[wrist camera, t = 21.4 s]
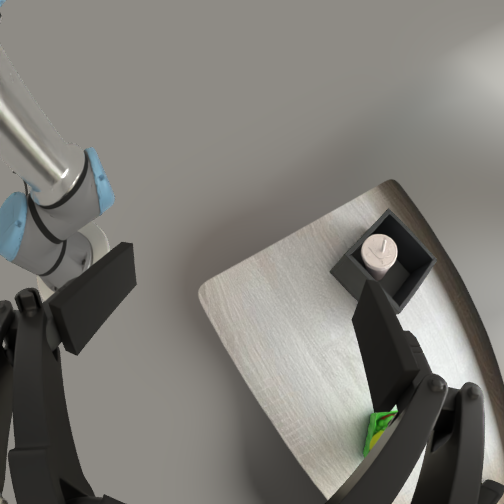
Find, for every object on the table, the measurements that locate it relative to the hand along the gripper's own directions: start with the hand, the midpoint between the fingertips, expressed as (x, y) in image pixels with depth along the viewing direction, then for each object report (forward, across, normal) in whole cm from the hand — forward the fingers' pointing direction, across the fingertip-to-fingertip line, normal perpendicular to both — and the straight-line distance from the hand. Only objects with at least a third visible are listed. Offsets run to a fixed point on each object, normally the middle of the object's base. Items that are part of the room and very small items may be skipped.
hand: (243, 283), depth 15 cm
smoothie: (+34, +23, -14) cm, 43 cm away
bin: (+35, +23, -15) cm, 45 cm away
